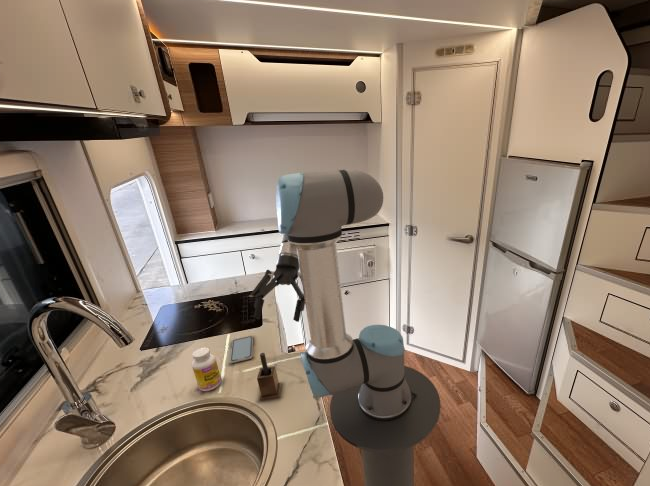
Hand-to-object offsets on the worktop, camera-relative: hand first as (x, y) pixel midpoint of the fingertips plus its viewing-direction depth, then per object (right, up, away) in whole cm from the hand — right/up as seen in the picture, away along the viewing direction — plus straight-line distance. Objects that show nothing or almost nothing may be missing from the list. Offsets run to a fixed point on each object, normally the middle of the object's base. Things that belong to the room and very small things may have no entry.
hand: (276, 319), depth 100 cm
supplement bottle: (-22, -22, +2) cm, 31 cm away
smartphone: (-19, -15, +19) cm, 30 cm away
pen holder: (-1, -22, -2) cm, 22 cm away
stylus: (-1, -21, -2) cm, 22 cm away
